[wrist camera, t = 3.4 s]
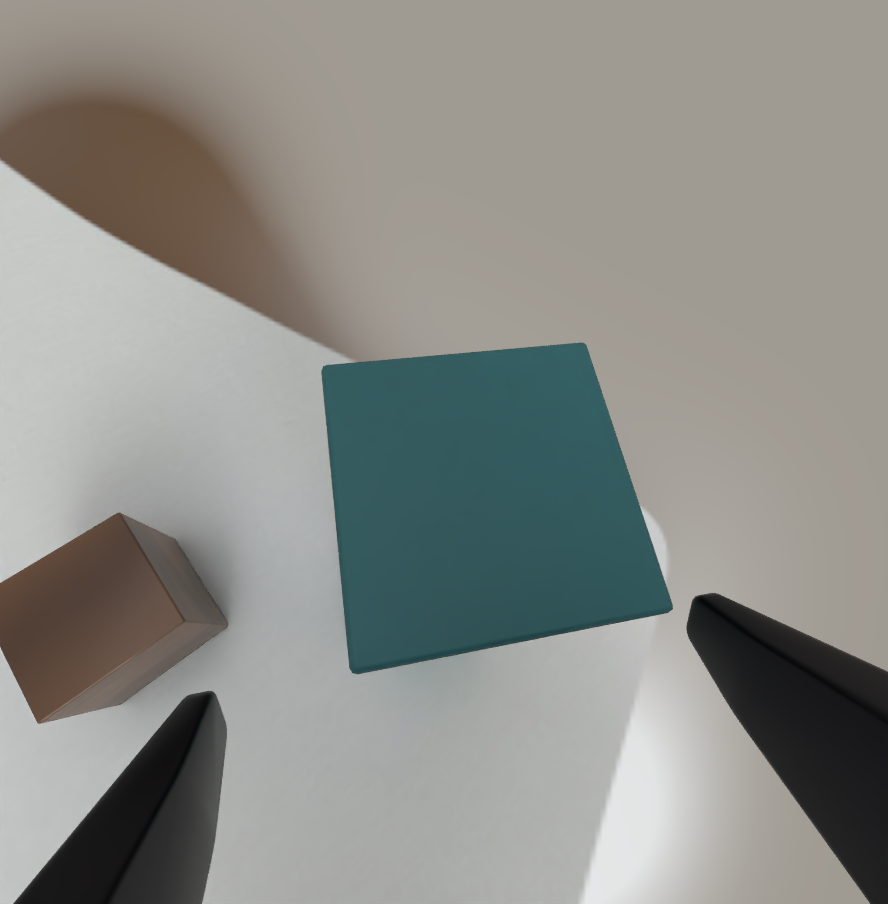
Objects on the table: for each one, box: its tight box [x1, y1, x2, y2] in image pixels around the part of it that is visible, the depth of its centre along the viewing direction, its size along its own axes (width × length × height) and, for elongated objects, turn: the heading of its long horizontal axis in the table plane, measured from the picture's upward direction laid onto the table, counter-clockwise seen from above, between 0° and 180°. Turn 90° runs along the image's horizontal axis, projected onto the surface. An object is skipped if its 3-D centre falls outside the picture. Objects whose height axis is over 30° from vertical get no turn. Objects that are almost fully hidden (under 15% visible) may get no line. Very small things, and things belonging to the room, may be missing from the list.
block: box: [0, 513, 228, 724], centre depth 15 cm, size 4×4×4 cm
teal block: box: [321, 343, 673, 674], centre depth 12 cm, size 4×4×13 cm
